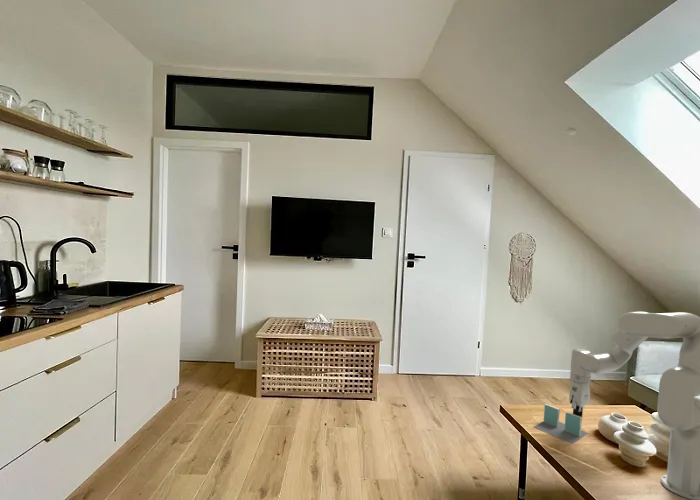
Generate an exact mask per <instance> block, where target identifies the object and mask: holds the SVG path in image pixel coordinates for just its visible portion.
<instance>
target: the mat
mask: <svg viewBox="0 0 700 500" xmlns="http://www.w3.org/2000/svg"><path fill="white" fill-rule="evenodd" d="M533 428H534V429H537V430H539V431H541V432H543V433H546V434H548V435H551V436H552V437H555V438H556V439H557V438H558V439H559V440H562V441H565V442H566V443H569V444H571V445H573V444H575V443H577V442H578V441H580V440H581V439H582V438H584V437H586V436H587V435H588V434H589V432H586V431H584V430H582V429H581V436H577V435H575V434H572V433H570V432H567V431H565V422H561V421H559V427H555V426H553V425H551V424H548V423H546V422H544V421H542V422H540V423H537V424H536V425H535V426H533Z"/></svg>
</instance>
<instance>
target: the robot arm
mask: <svg viewBox="0 0 700 500" xmlns="http://www.w3.org/2000/svg"><path fill="white" fill-rule="evenodd" d="M617 325H618V329H617V330H616V331H614V332H613V333H612V335H611V339H612V342H613V343H614V344H613V345H612V347H611V348H610V349H608V351H606V352H604V353H597V354H592V352H591V351H590V350H588V349H584V348H577V347H576V348H574V349H572V350H571V359H570V373H569V374H570V375H569V379H570V388H569V397H568V402H569V404H571V407H570V408H571V409H572V414H575V415H577V416H580V417H582V418H583V413H584V412H583V411H584V407H585V406H586V405H588V404H589V403H590V402H591V399H590V397H591V378H592V377H591V376H592V374H596V375H597V374H605V373H612V372H615V371H617V370H619V369H620V368H621V367H623V365H625V364H627V362H628V361H629V360H630V359H631V357H632V355H633V354H634V353H633V352H634V350H636V348H638V347H639V346H640V345H641V344H642V343H644V342H645V341H646V340H648V338H654V339H655V338H656V339H679V338H682V339H683V342H682V345H681V346H680V349H679V353H678V354H679V356H678V357H679V358H678V363H677V366H676V367H671V368H668V369H666V370H665V371H664V372H663V373H662V374H661V376H660V379H659V387H658V396H657V406H656V407H657V408H656V409H657V415H658V417H659V419H660V421H661V422H662V424H663V425H664V426H666V427H667V428H668V429H670V433H669V443H668V446H669V447H668V457H667V468H666V470H667V471H666V474H663V475H661V476H660V483H661V484H662V485H663V486H664V488H666V489H668V490H669V491H670V492H672V493H673V494H676V495H678V496H680V497H683V498H685V499H687V500H700V397H699V398H698V396H700V316H698V315H696V314H694V313H690V312H681V311H680V312H679V311H678V312H663V313H658V312H656V313H655V312H647V311H630V312H629V311H628V312H625V313H623V314H621V316H620V317H618V321H617ZM591 373H592V374H591Z"/></svg>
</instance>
